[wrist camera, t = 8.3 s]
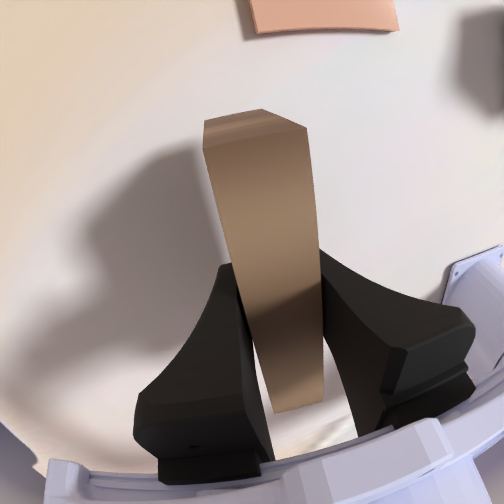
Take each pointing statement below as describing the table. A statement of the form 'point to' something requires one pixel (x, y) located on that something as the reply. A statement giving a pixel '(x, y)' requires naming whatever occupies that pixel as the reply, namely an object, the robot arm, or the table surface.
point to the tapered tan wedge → (272, 245)
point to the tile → (323, 15)
